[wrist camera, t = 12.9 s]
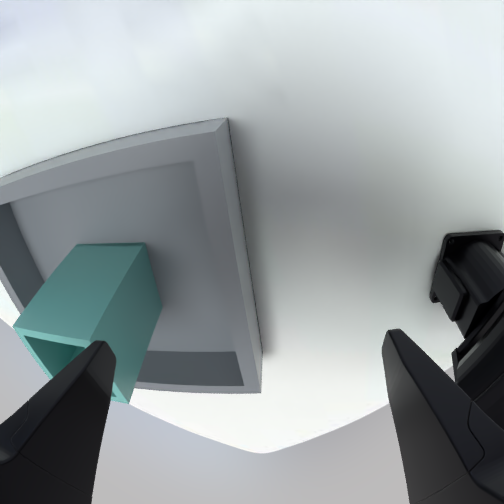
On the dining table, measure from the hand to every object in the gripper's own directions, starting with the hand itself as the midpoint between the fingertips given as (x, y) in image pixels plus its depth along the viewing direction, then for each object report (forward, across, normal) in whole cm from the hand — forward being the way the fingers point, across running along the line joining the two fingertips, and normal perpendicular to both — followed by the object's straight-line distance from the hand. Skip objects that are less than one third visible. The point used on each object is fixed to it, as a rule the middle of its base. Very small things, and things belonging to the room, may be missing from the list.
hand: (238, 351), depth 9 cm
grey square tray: (+12, +11, +5) cm, 17 cm away
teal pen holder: (+11, +11, +5) cm, 16 cm away
